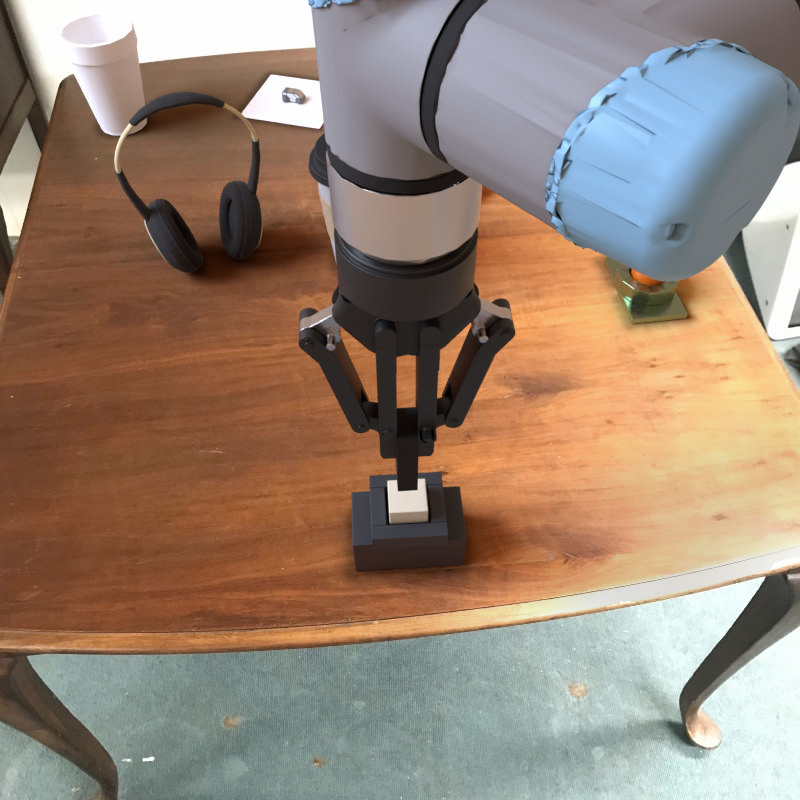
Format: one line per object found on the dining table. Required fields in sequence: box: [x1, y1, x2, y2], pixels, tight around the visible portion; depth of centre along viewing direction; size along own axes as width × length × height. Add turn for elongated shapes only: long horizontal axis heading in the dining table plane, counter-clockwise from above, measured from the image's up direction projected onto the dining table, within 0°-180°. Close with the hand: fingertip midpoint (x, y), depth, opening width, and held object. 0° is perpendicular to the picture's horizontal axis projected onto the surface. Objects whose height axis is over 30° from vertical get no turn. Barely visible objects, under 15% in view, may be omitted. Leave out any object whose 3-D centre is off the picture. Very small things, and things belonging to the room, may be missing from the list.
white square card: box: [240, 74, 324, 130], centre depth 110 cm, size 12×12×2 cm
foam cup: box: [55, 11, 148, 137], centre depth 102 cm, size 10×9×13 cm
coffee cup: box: [308, 132, 337, 265], centre depth 83 cm, size 9×9×15 cm
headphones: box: [114, 90, 264, 274], centre depth 82 cm, size 9×15×20 cm, turn 112°
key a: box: [387, 479, 428, 524], centre depth 61 cm, size 3×3×2 cm
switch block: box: [603, 256, 688, 325], centre depth 84 cm, size 10×6×2 cm, turn 7°
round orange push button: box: [631, 269, 663, 286], centre depth 83 cm, size 4×4×2 cm
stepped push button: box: [350, 471, 467, 572], centre depth 63 cm, size 9×6×6 cm, turn 93°
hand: (406, 475), depth 58 cm, fingers closed
